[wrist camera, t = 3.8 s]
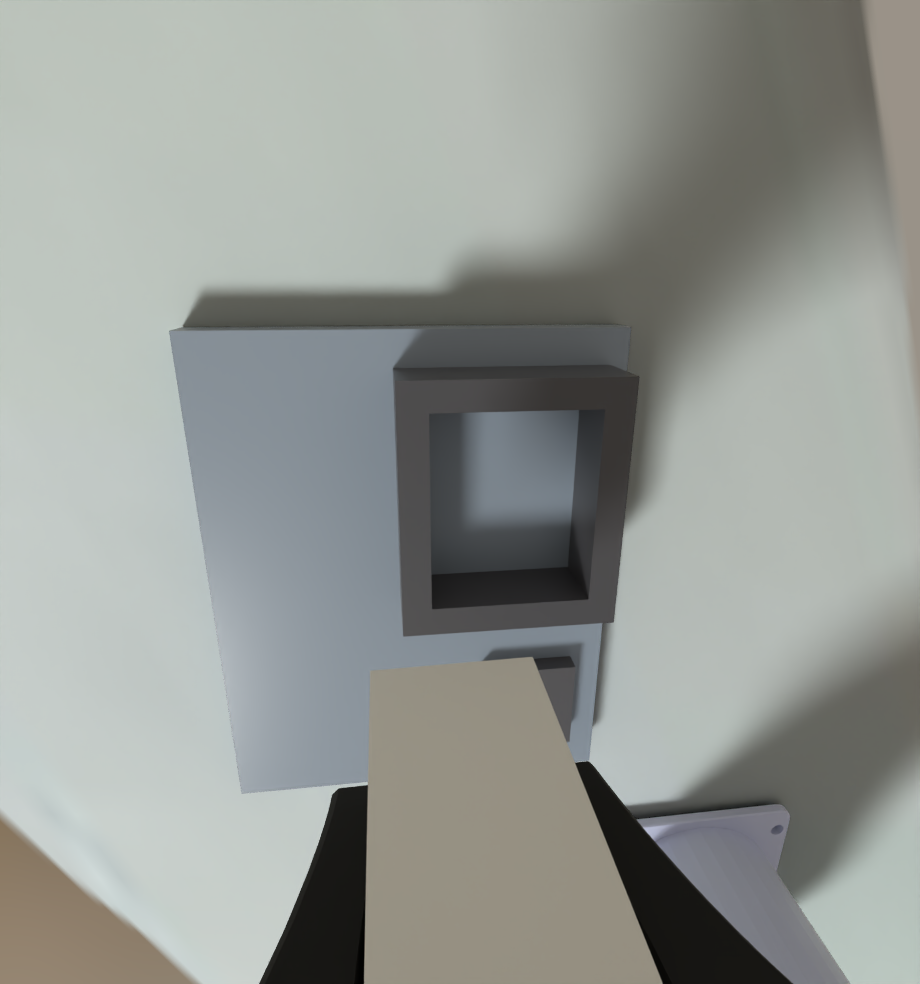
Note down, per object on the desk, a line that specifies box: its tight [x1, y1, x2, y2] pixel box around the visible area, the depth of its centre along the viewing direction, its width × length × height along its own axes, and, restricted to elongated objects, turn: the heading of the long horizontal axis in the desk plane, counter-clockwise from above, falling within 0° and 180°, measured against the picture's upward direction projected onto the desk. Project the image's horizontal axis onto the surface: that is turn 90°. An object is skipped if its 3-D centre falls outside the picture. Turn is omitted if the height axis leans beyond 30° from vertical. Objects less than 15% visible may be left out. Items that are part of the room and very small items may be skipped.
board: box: [169, 324, 631, 794], centre depth 19 cm, size 15×12×2 cm
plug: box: [364, 657, 663, 984], centre depth 8 cm, size 4×3×7 cm
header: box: [393, 365, 639, 637], centre depth 17 cm, size 7×6×2 cm
